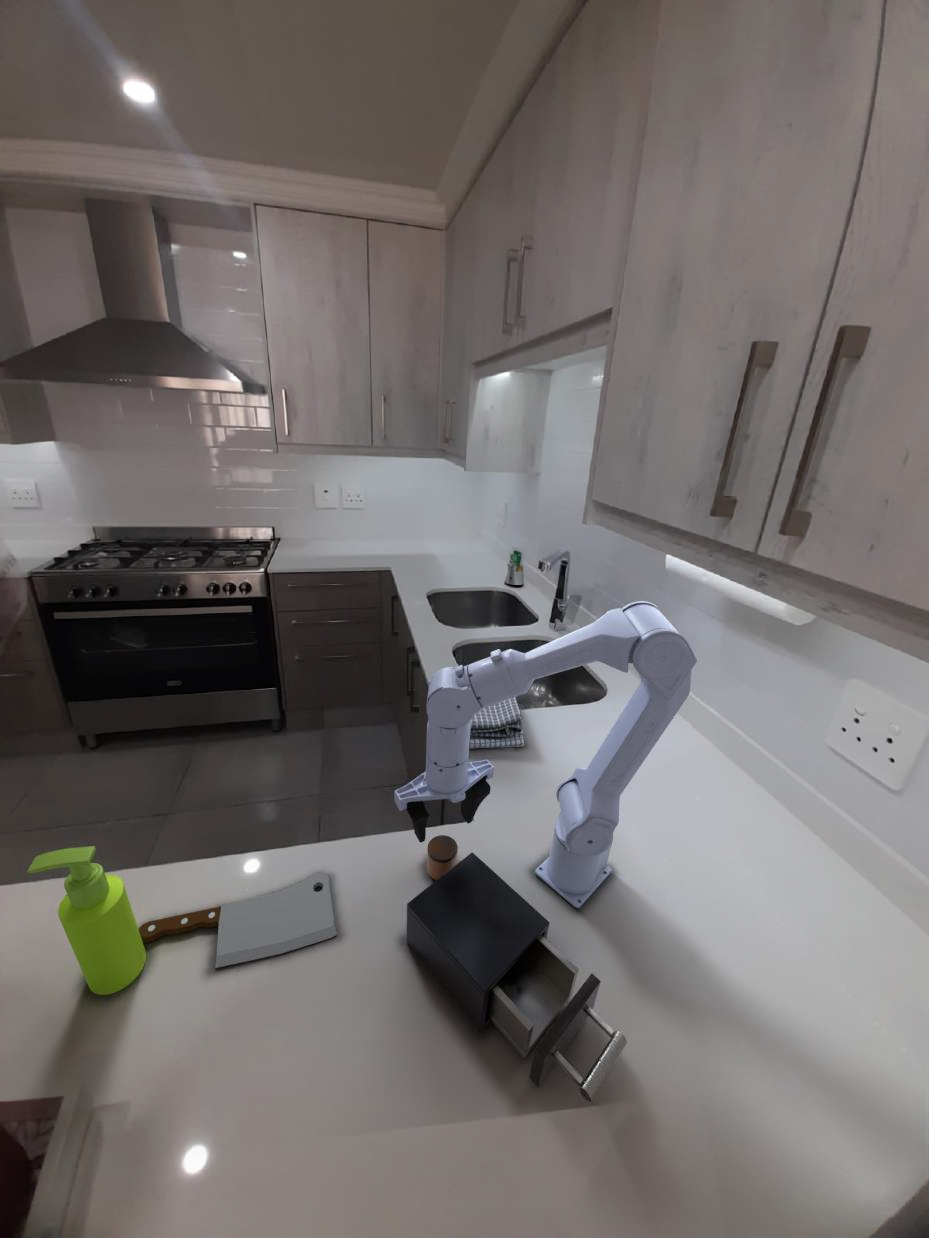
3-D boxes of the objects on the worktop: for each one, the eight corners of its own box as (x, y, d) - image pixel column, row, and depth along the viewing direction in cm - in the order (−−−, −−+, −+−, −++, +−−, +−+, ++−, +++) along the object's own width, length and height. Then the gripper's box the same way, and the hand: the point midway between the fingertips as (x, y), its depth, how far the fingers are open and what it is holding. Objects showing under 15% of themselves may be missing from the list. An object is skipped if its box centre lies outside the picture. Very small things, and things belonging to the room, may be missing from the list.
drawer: (628, 1046, 54) (639, 1016, 52) (575, 1133, 47) (585, 1104, 45) (512, 931, 65) (516, 902, 63) (455, 989, 58) (458, 959, 56)
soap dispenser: (89, 950, 61) (43, 837, 52) (152, 938, 63) (118, 827, 54) (68, 1002, 56) (14, 886, 47) (137, 988, 57) (97, 874, 49)
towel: (508, 700, 117) (511, 672, 114) (525, 750, 101) (529, 719, 97) (445, 701, 115) (447, 673, 112) (452, 752, 99) (454, 721, 96)
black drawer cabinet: (542, 960, 63) (549, 922, 60) (479, 1032, 55) (484, 992, 52) (469, 888, 72) (472, 851, 68) (406, 941, 64) (406, 903, 61)
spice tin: (442, 850, 77) (443, 830, 75) (462, 869, 74) (463, 848, 73) (420, 867, 74) (421, 846, 73) (440, 887, 72) (441, 865, 70)
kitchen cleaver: (121, 990, 56) (144, 907, 65) (123, 994, 57) (146, 912, 65) (337, 937, 64) (332, 869, 72) (337, 941, 64) (332, 873, 72)
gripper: (409, 789, 59) (408, 868, 64) (508, 755, 66) (500, 829, 71) (388, 754, 64) (389, 829, 70) (482, 726, 71) (475, 797, 77)
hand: (443, 827), depth 71 cm, fingers open, 7 cm apart
